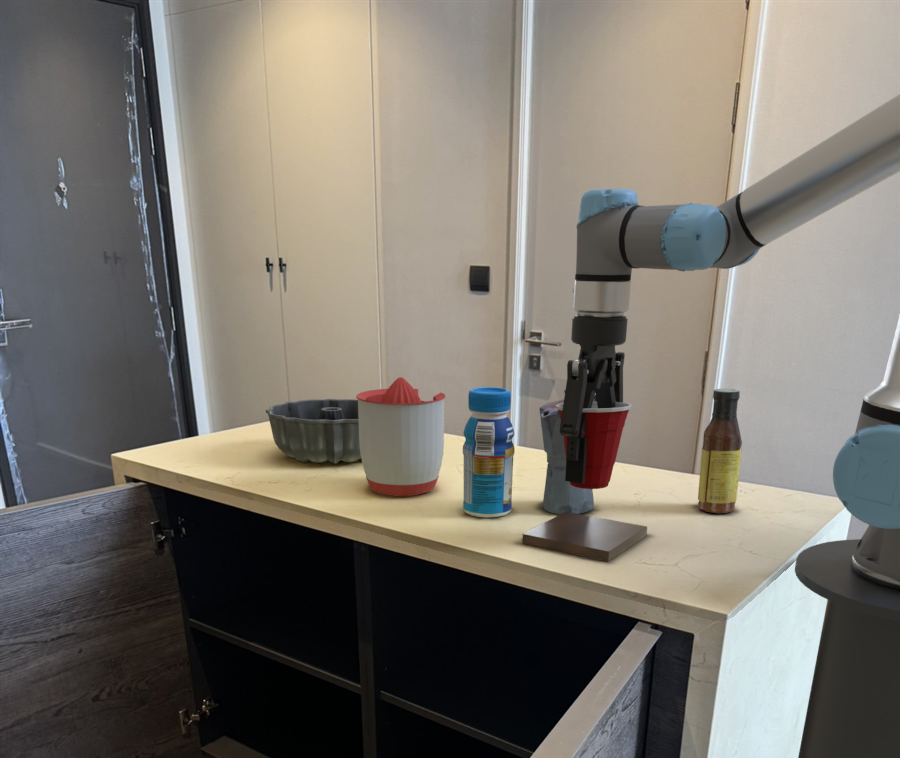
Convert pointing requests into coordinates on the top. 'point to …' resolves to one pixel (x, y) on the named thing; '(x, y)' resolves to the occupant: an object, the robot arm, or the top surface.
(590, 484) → the plastic cup
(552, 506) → the moka pot
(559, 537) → the trivet board
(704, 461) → the sauce bottle
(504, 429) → the beverage bottle
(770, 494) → the top surface
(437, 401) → the citrus juicer
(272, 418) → the bundt pan
